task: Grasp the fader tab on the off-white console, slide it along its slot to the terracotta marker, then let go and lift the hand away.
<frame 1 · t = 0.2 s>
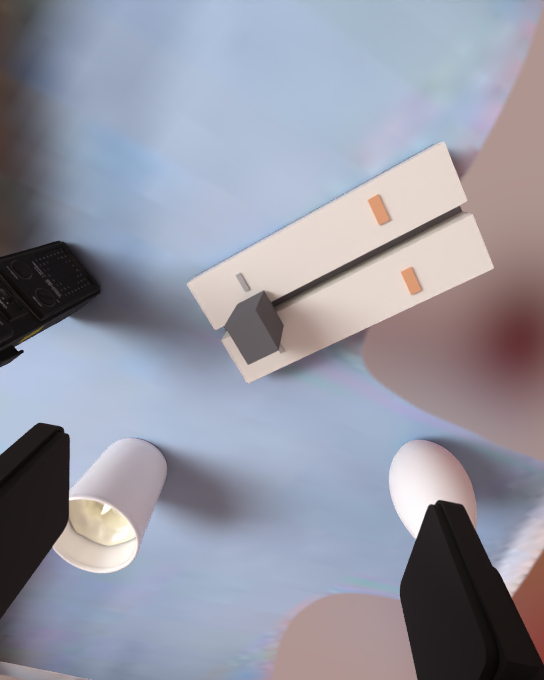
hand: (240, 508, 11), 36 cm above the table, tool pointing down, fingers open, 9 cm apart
portable radio: (70, 281, 48), on the table
candle holder: (136, 464, 56), on the table
sauce bottle: (415, 451, 52), on the table
fader tab: (258, 320, 41), point 6 cm above the table, slide at 0.0 cm
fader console: (333, 268, 45), on the table
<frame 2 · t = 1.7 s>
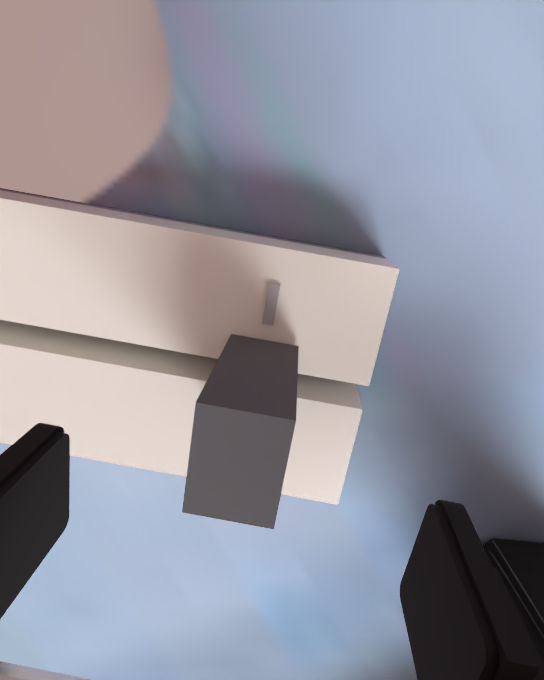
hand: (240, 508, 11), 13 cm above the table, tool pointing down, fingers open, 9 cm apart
portable radio: (515, 574, 28), on the table
fader tab: (253, 399, 18), point 6 cm above the table, slide at 0.0 cm
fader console: (121, 323, 24), on the table
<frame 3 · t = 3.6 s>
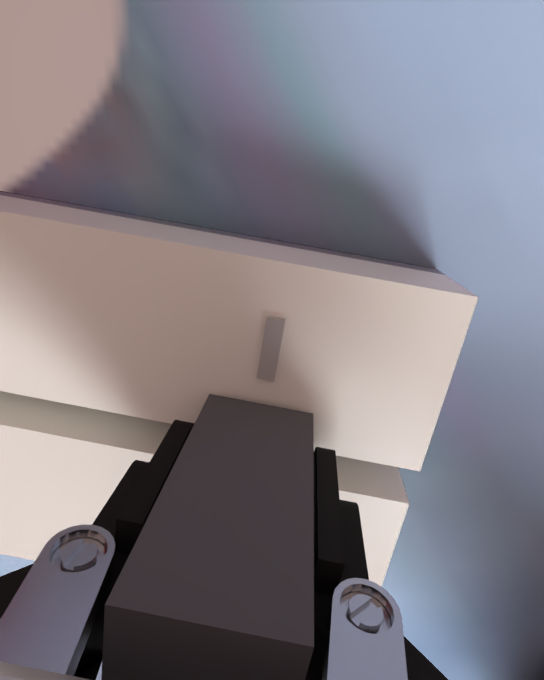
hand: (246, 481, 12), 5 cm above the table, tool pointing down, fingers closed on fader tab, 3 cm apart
fader tab: (241, 504, 11), point 6 cm above the table, slide at 0.0 cm, touching gripper
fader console: (66, 359, 17), on the table
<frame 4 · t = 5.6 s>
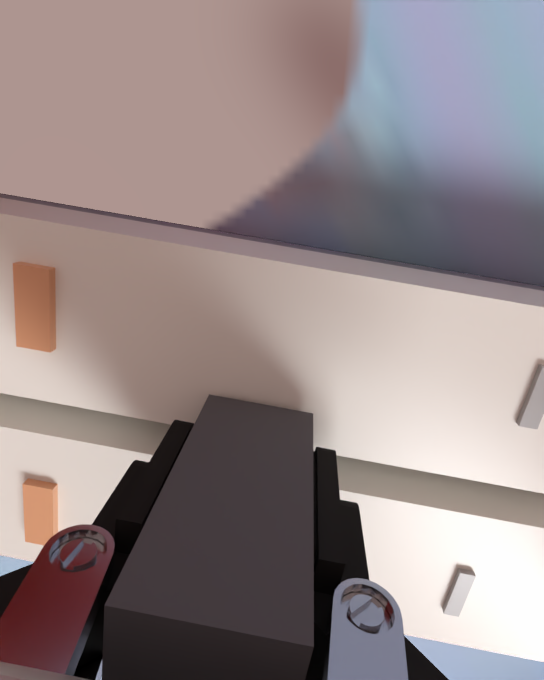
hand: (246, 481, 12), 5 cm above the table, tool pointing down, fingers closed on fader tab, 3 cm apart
fader tab: (241, 504, 11), point 6 cm above the table, slide at 7.4 cm, touching gripper
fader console: (249, 394, 17), on the table
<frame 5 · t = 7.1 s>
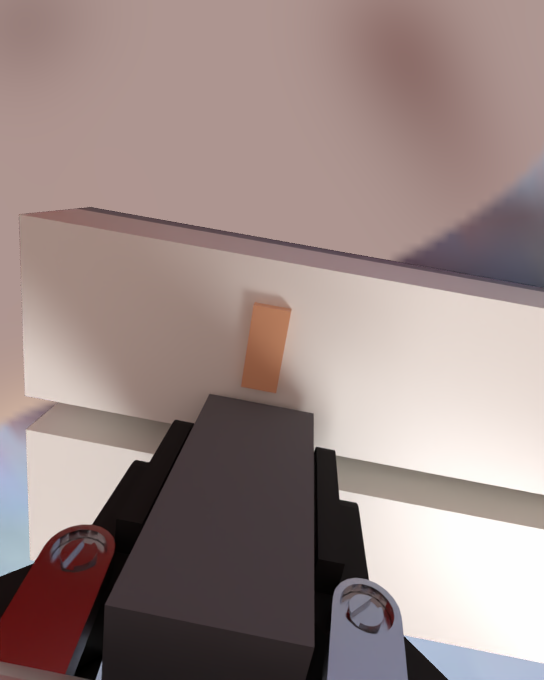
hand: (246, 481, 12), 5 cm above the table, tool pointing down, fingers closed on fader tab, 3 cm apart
fader tab: (241, 504, 11), point 6 cm above the table, slide at 13.9 cm, touching gripper
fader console: (414, 425, 17), on the table
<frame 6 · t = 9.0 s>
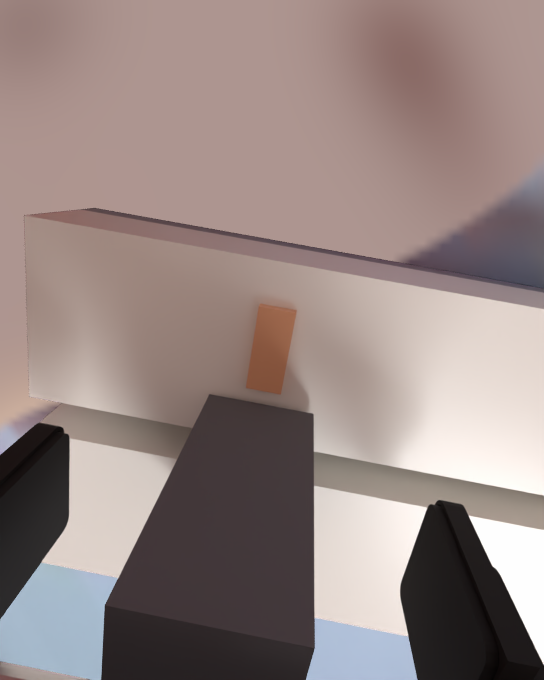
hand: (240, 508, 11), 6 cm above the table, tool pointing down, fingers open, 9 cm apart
fader tab: (241, 504, 11), point 6 cm above the table, slide at 14.0 cm
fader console: (417, 426, 17), on the table
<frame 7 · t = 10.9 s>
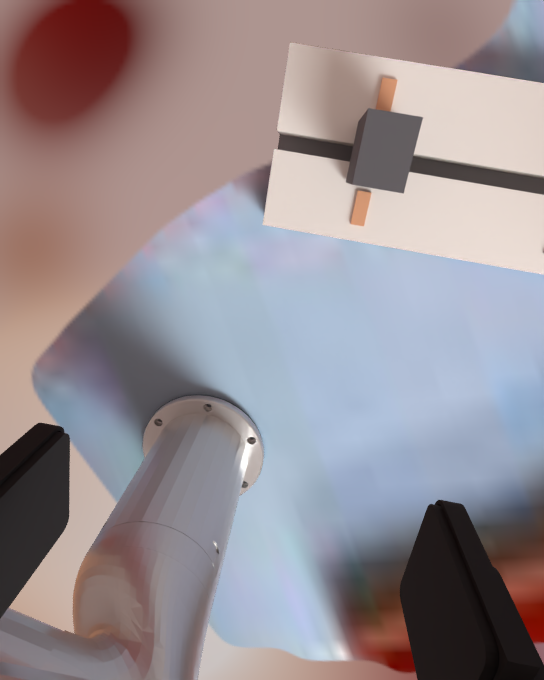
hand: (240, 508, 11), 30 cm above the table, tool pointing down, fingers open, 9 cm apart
fader tab: (376, 155, 29), point 6 cm above the table, slide at 14.0 cm
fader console: (441, 170, 35), on the table
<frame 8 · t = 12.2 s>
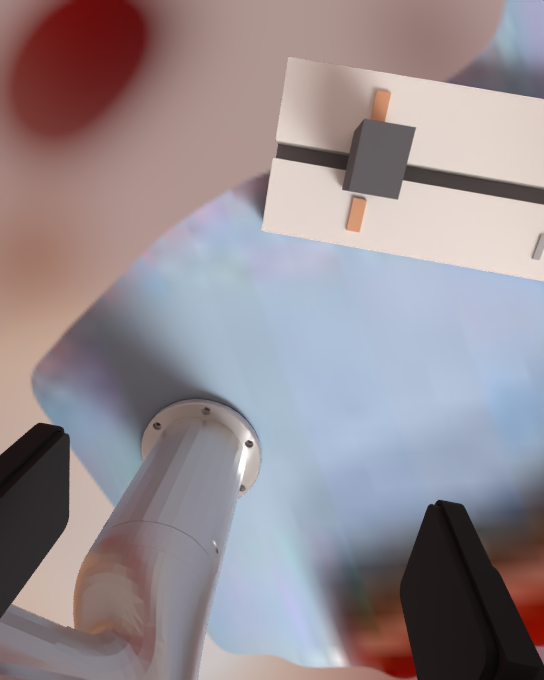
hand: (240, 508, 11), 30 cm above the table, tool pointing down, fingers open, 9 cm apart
fader tab: (371, 163, 30), point 6 cm above the table, slide at 14.0 cm
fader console: (434, 179, 36), on the table
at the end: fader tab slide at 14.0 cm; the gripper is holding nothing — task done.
